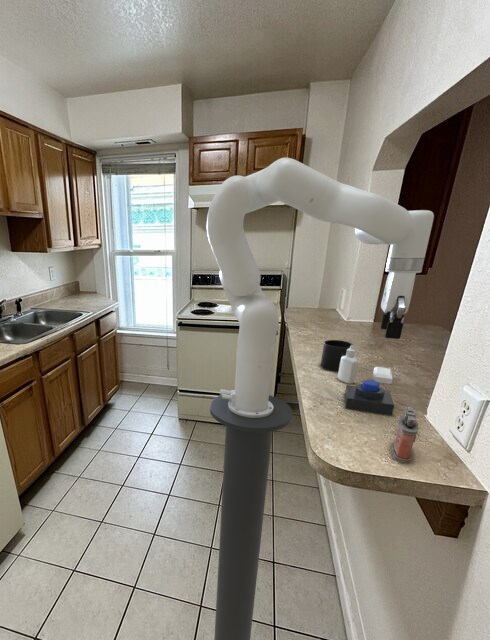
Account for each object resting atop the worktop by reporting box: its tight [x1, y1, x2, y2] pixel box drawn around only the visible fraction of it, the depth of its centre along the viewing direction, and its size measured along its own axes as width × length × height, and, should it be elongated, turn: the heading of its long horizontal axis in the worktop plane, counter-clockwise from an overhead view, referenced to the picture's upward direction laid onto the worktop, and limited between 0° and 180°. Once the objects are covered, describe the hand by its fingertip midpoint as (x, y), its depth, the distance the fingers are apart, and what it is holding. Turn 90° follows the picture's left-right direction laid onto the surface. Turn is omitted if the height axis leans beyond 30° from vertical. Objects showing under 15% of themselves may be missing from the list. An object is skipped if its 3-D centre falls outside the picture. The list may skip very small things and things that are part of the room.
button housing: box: [344, 383, 395, 416], centre depth 98 cm, size 11×10×5 cm
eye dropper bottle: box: [337, 344, 359, 385], centre depth 113 cm, size 4×6×12 cm
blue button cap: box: [361, 379, 380, 392], centre depth 97 cm, size 4×4×2 cm
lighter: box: [391, 406, 420, 464], centre depth 75 cm, size 8×3×10 cm, turn 151°
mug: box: [320, 339, 354, 373], centre depth 124 cm, size 9×12×9 cm
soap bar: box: [372, 366, 394, 385], centre depth 117 cm, size 5×9×3 cm, turn 152°
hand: (389, 333), depth 92 cm, fingers open, 9 cm apart
